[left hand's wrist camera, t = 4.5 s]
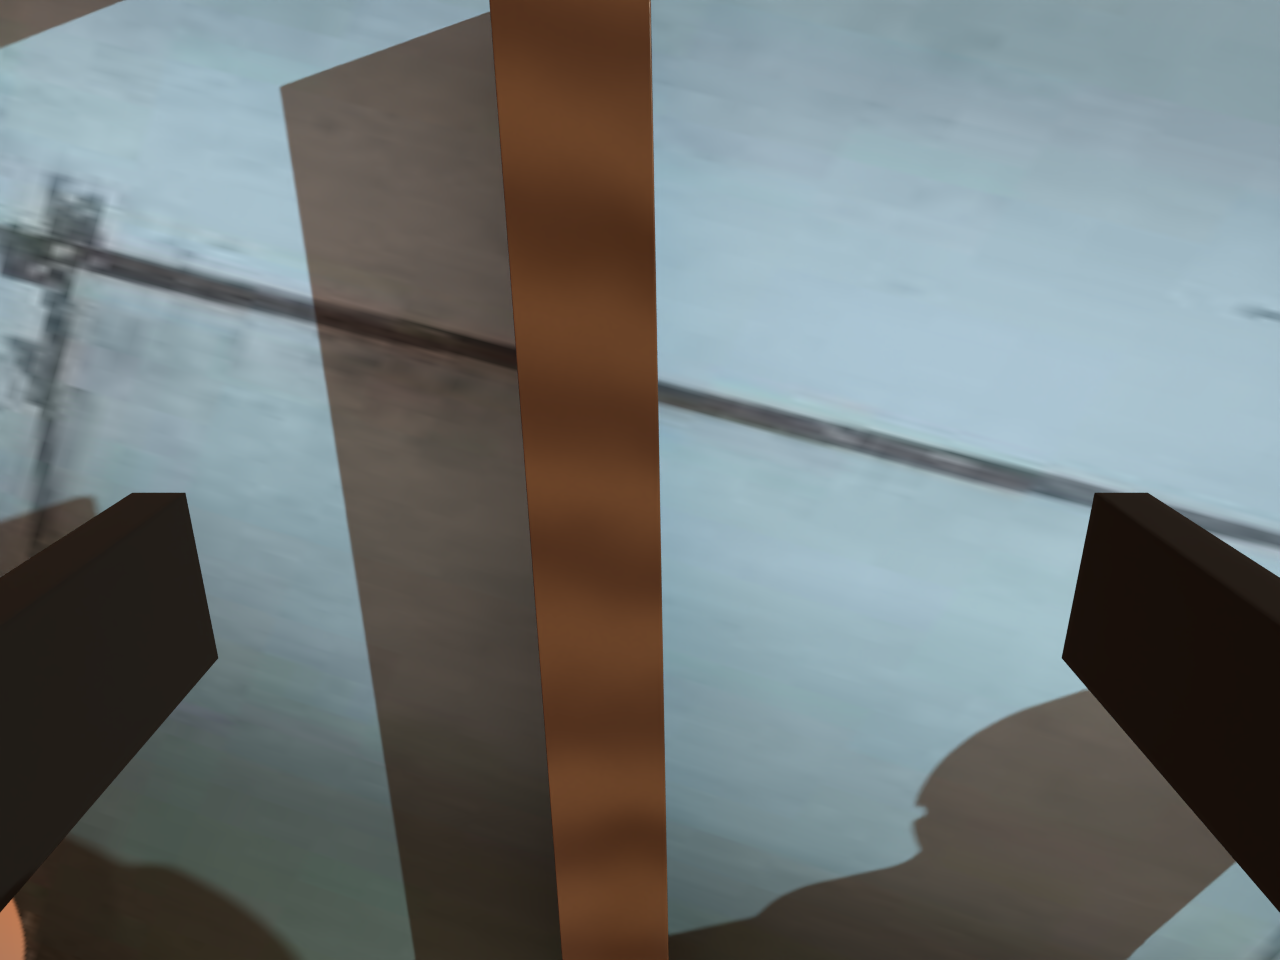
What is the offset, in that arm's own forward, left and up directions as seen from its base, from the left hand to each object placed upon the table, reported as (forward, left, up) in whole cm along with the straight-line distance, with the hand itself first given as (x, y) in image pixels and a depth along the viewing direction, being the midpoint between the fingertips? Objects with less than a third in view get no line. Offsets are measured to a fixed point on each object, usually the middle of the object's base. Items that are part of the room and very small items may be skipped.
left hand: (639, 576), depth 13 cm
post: (+24, +15, -26) cm, 39 cm away
